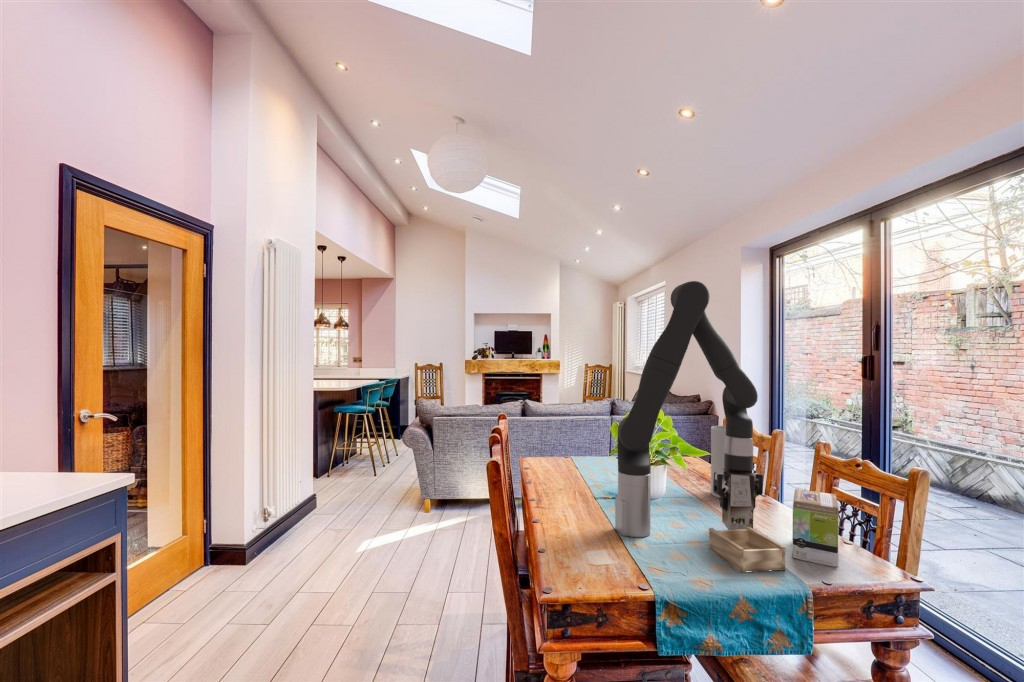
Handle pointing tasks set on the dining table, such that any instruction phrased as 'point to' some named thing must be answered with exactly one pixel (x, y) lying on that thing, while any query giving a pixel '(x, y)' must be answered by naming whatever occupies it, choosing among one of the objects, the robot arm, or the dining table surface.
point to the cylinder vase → (717, 452)
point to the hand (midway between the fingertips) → (737, 509)
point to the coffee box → (739, 501)
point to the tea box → (815, 527)
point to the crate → (747, 549)
